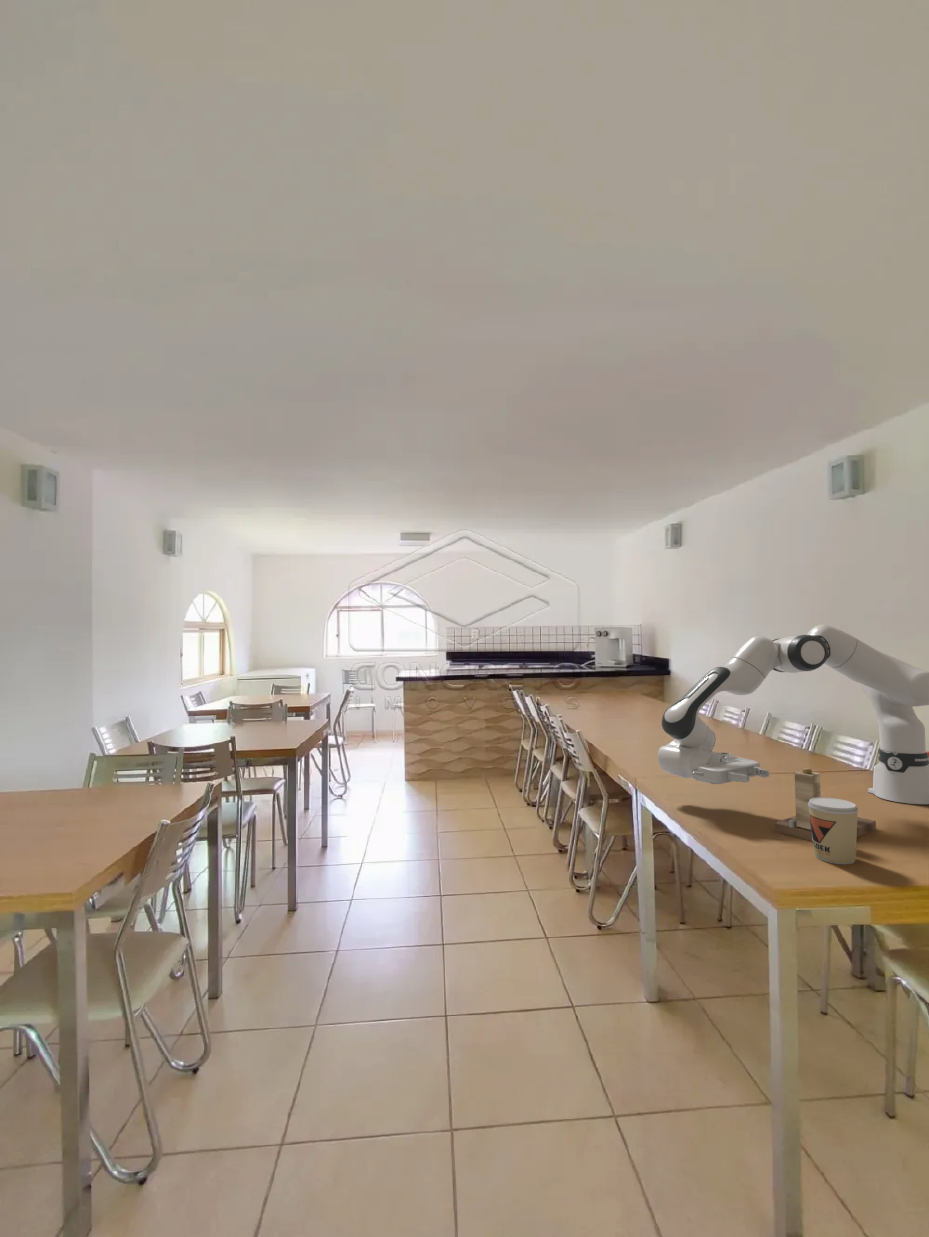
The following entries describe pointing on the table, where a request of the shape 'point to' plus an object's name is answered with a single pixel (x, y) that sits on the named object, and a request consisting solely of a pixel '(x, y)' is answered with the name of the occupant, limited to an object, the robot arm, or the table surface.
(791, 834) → the board
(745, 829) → the table surface
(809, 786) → the beige tall block
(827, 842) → the coffee cup
